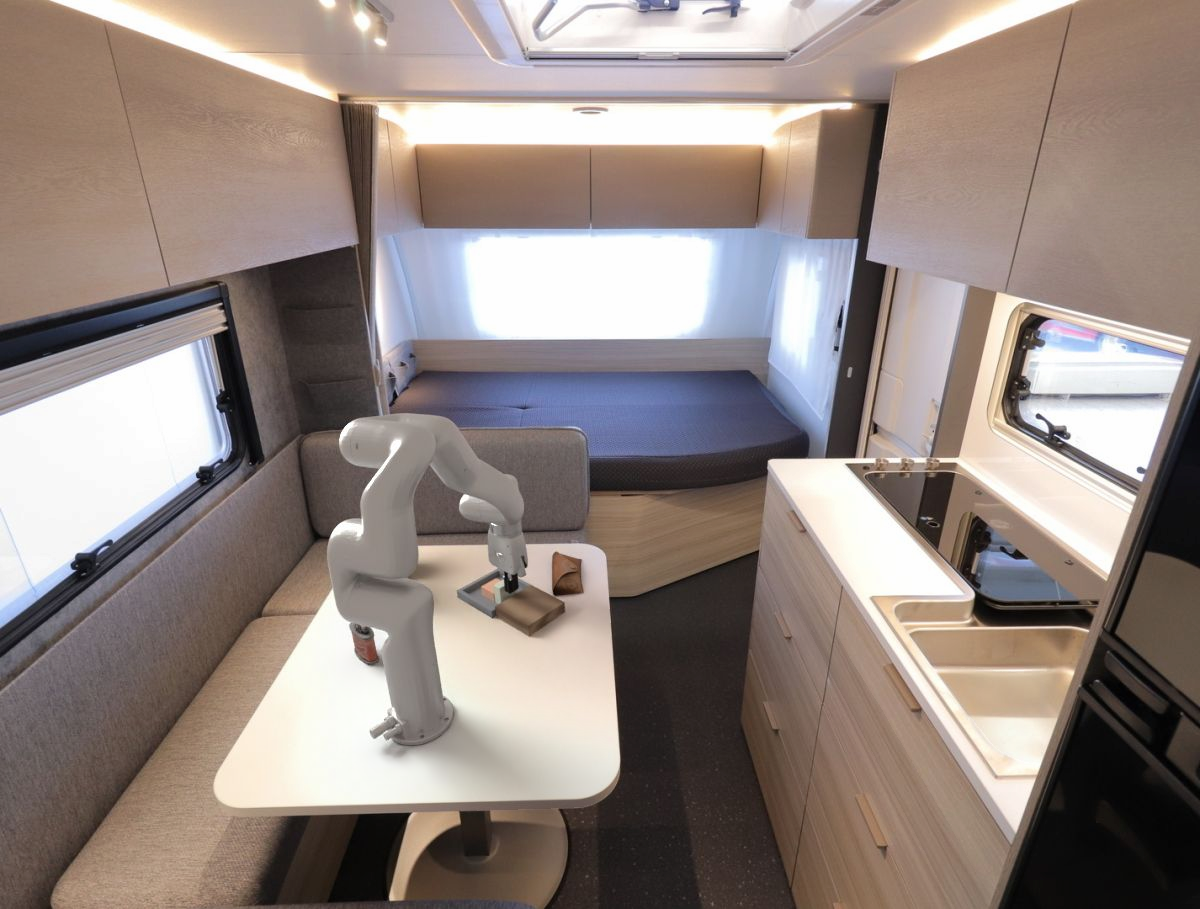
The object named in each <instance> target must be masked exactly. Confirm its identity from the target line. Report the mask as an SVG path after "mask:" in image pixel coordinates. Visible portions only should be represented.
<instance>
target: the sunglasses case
mask: <svg viewBox="0 0 1200 909" xmlns="http://www.w3.org/2000/svg"><path fill="white" fill-rule="evenodd" d="M551 558H552V559H551V588H552V589H551V591H552V594H553V595H552V596H554V597H560V596H561V597H562V596H563V597H564V596H571V595H572V596H573V595H580V594H581V595H582V594H584V588H583V581H582V566H581V565H582V559H581V558H577V557H574V556H570V555H566V554H564V553H560V552H559V551H554V552H553V554H552V557H551Z"/></svg>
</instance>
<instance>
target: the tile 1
mask: <svg viewBox="0 0 1200 909" xmlns="http://www.w3.org/2000/svg"><path fill="white" fill-rule="evenodd" d="M498 582H500V580H499V579H497V578H496V579H494V580H492V581H490V582H488V583H487V584H485V585H483V586H481V590H482V595H483V596H485V597H487V598H488V599H490V600H492V601H494V602H495V596H494V588H493V585H494V584H496V583H498Z"/></svg>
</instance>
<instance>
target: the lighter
mask: <svg viewBox="0 0 1200 909" xmlns="http://www.w3.org/2000/svg"><path fill="white" fill-rule="evenodd" d="M348 625H349V626H348V627H349V630H350V631H351V632H350V633H351V635H352V636H351V637H352V640H353V645H354V649H353V650H354V654H355V655H356V657H357V659H358V660H359V661H360V662H362V663H363V664H365V665H367V666H369V667H371V666H375V665H377V664H378V663H379V662H380V658H379V657H380V656H379V655H378V652H377V647H376V642H375V641H376V640H375V632H374V630H373V629H372V627H367V626H363V625H359V624H355V623H351V622H349V624H348Z"/></svg>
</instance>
